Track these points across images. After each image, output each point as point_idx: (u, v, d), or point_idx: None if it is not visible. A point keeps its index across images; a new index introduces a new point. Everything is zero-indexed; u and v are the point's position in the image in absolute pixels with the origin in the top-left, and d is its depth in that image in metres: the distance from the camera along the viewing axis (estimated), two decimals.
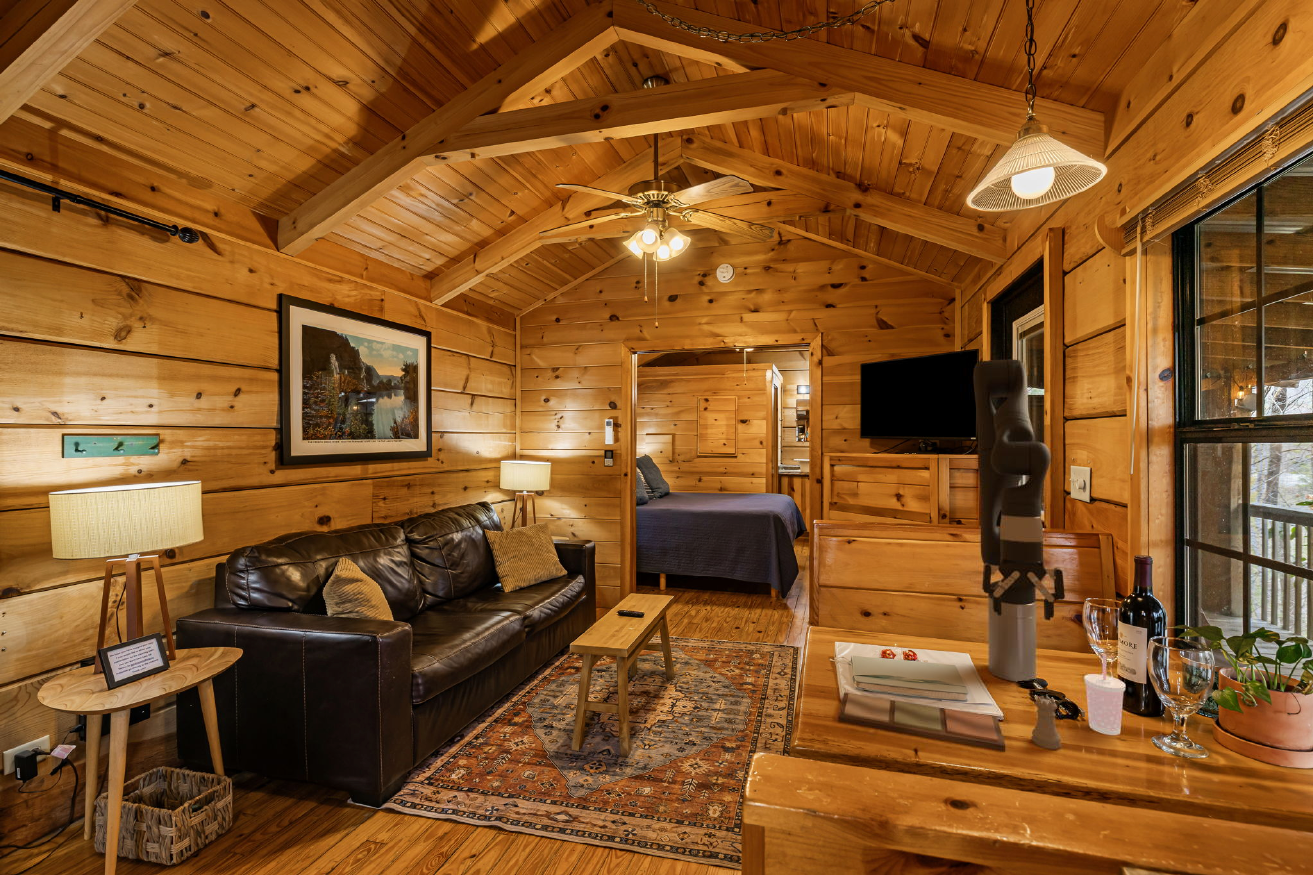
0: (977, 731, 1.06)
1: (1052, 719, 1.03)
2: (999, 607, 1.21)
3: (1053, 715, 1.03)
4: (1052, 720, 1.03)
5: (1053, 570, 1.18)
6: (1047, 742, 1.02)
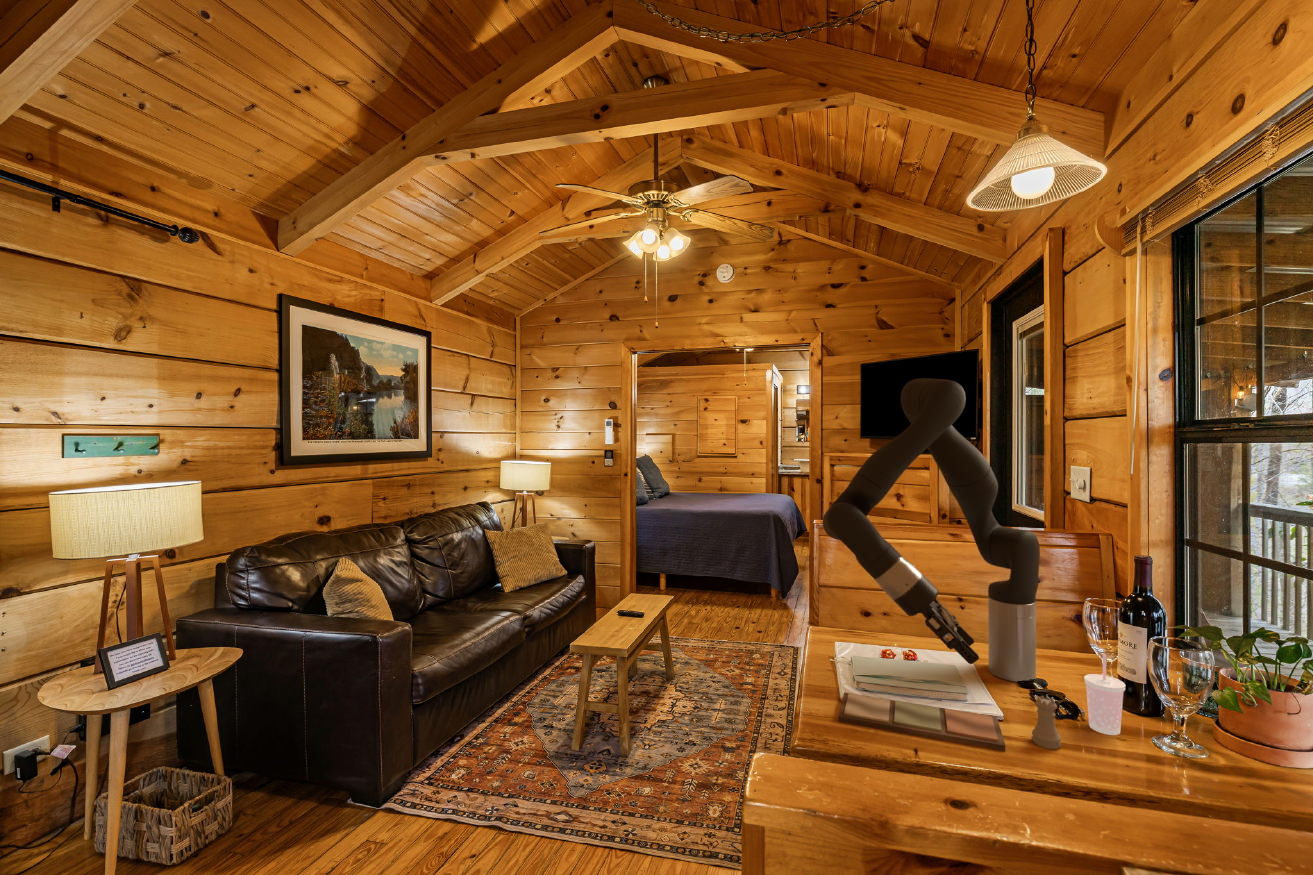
0: (977, 731, 1.06)
1: (1052, 719, 1.03)
2: None
3: (1053, 715, 1.03)
4: (1052, 720, 1.03)
5: None
6: (1047, 742, 1.02)
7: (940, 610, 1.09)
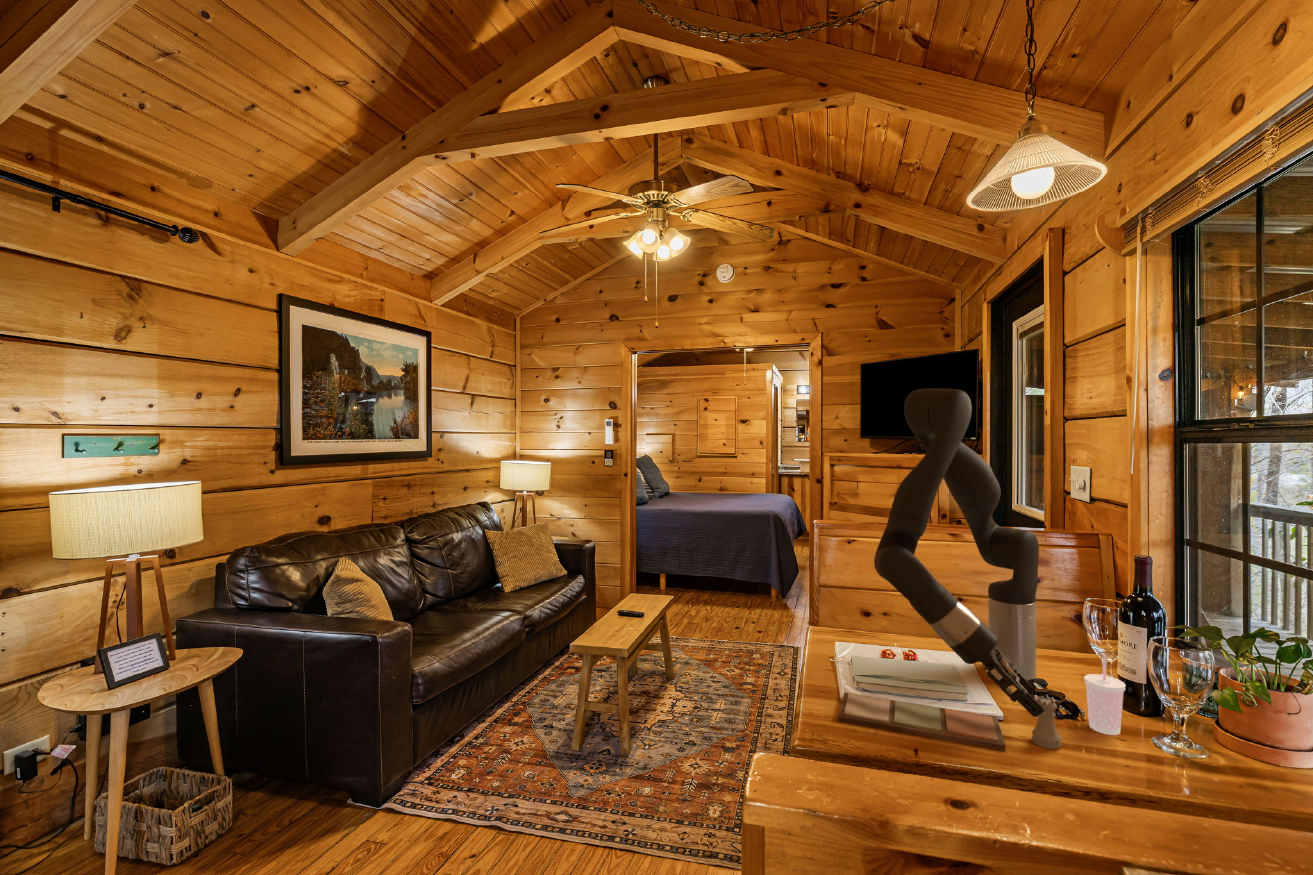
0: (977, 731, 1.06)
1: (1052, 719, 1.03)
2: None
3: (1053, 715, 1.03)
4: (1052, 720, 1.03)
5: (991, 670, 1.02)
6: (1047, 742, 1.02)
7: (1000, 659, 1.05)
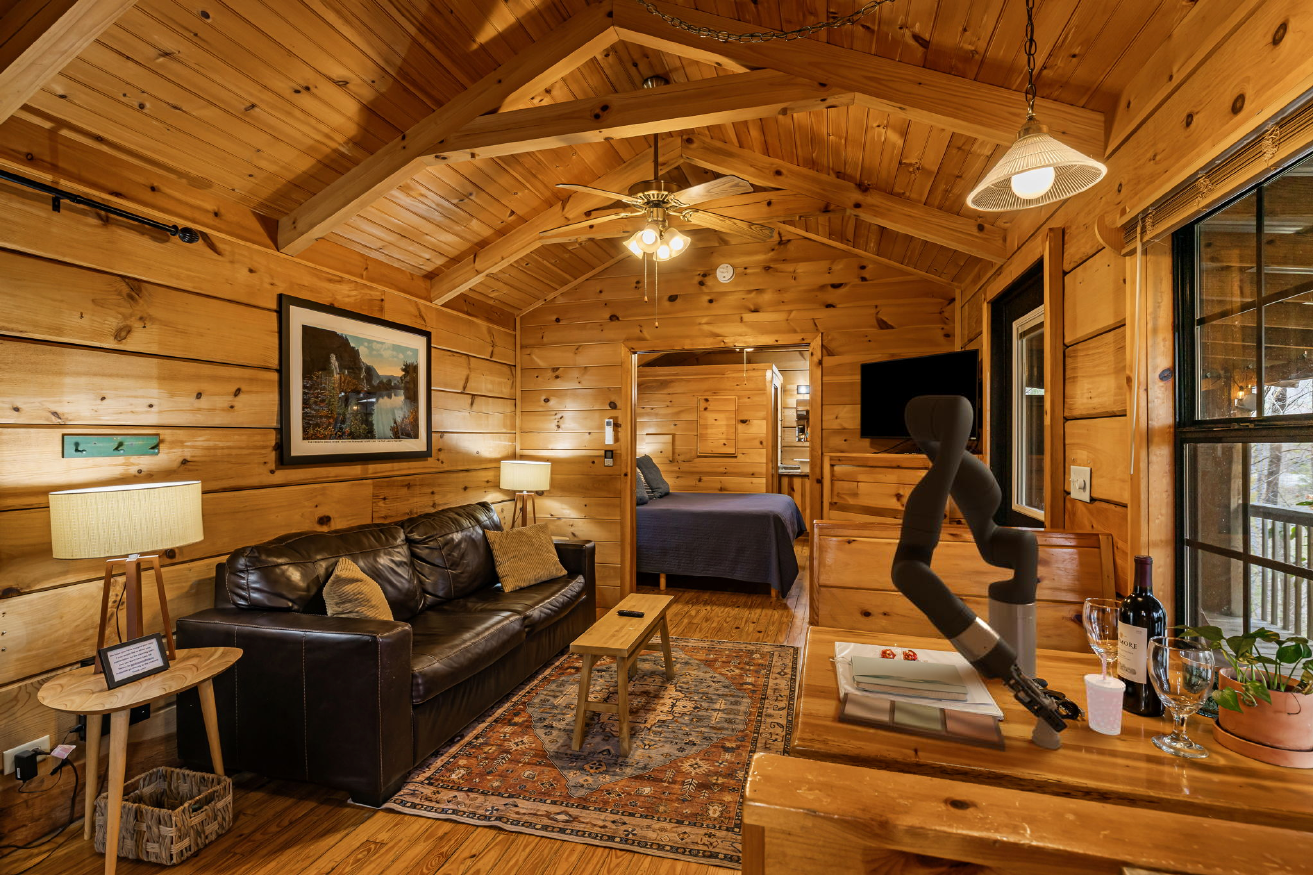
0: (977, 731, 1.06)
1: None
2: None
3: None
4: None
5: (1016, 691, 1.01)
6: (1047, 742, 1.02)
7: (1021, 676, 1.04)
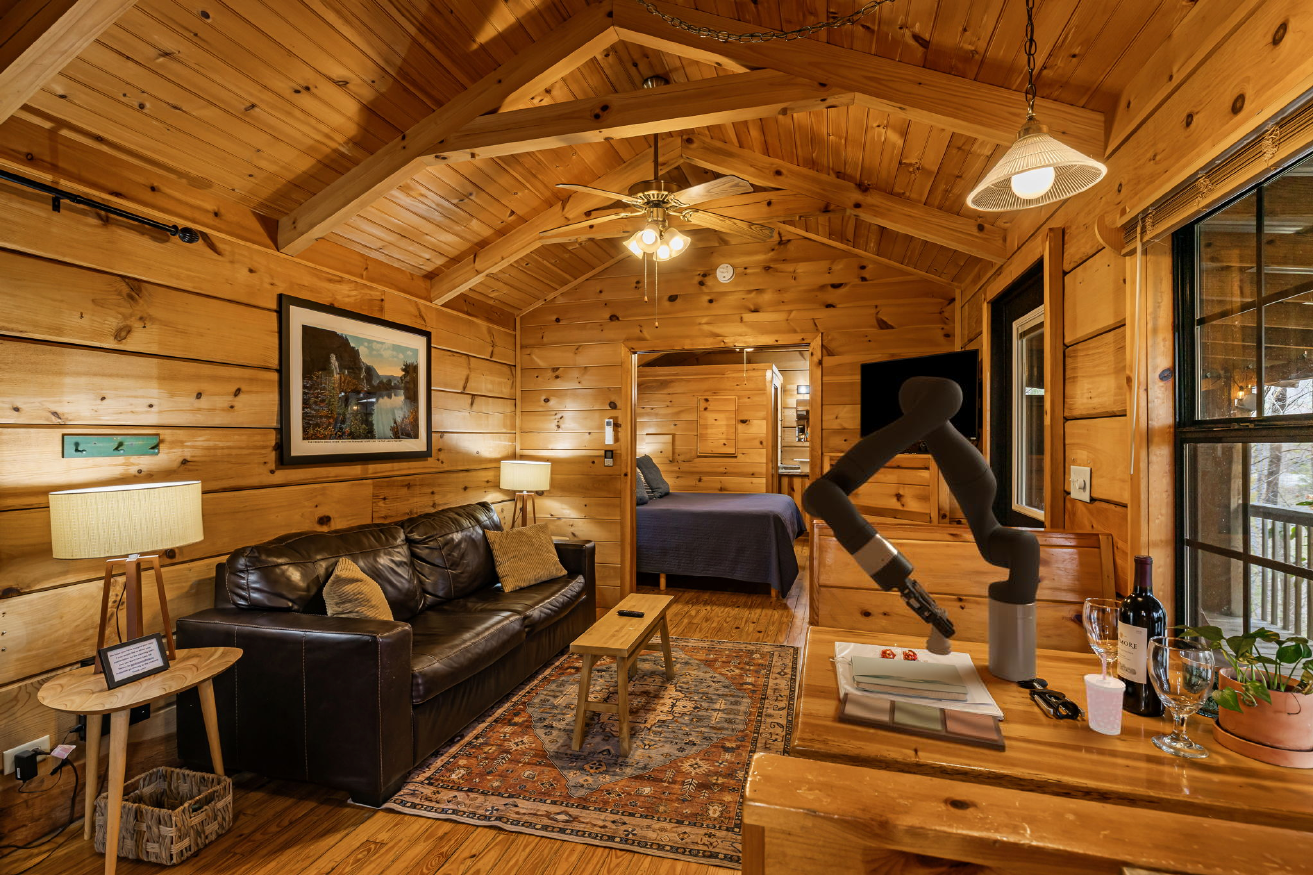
0: (977, 731, 1.06)
1: None
2: None
3: None
4: None
5: (909, 599, 1.07)
6: (938, 648, 1.08)
7: (916, 587, 1.10)
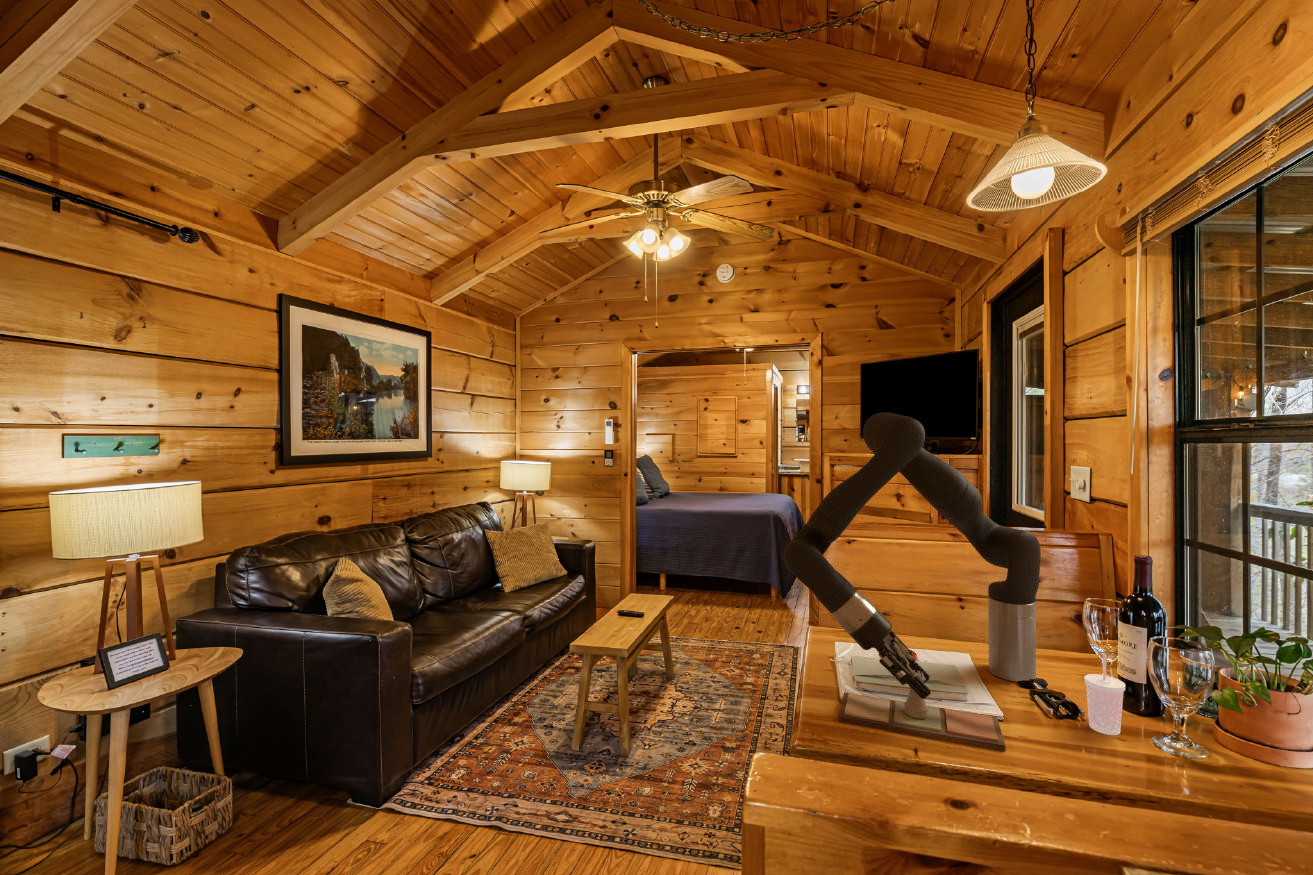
0: (977, 731, 1.06)
1: None
2: None
3: None
4: None
5: None
6: (915, 712, 1.11)
7: (893, 645, 1.12)
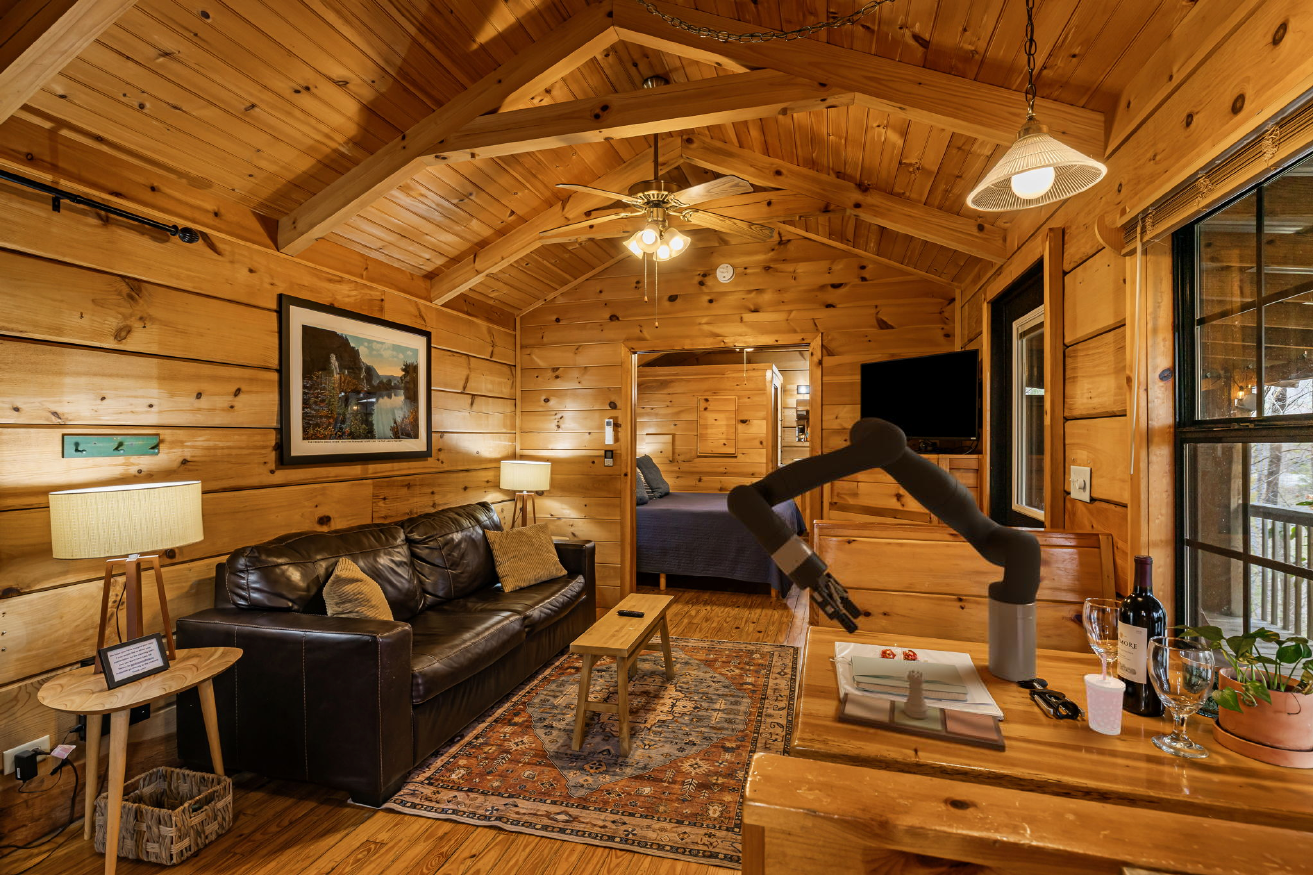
0: (977, 731, 1.06)
1: (920, 691, 1.11)
2: None
3: (921, 687, 1.11)
4: (920, 692, 1.11)
5: None
6: (915, 712, 1.11)
7: (827, 584, 1.17)
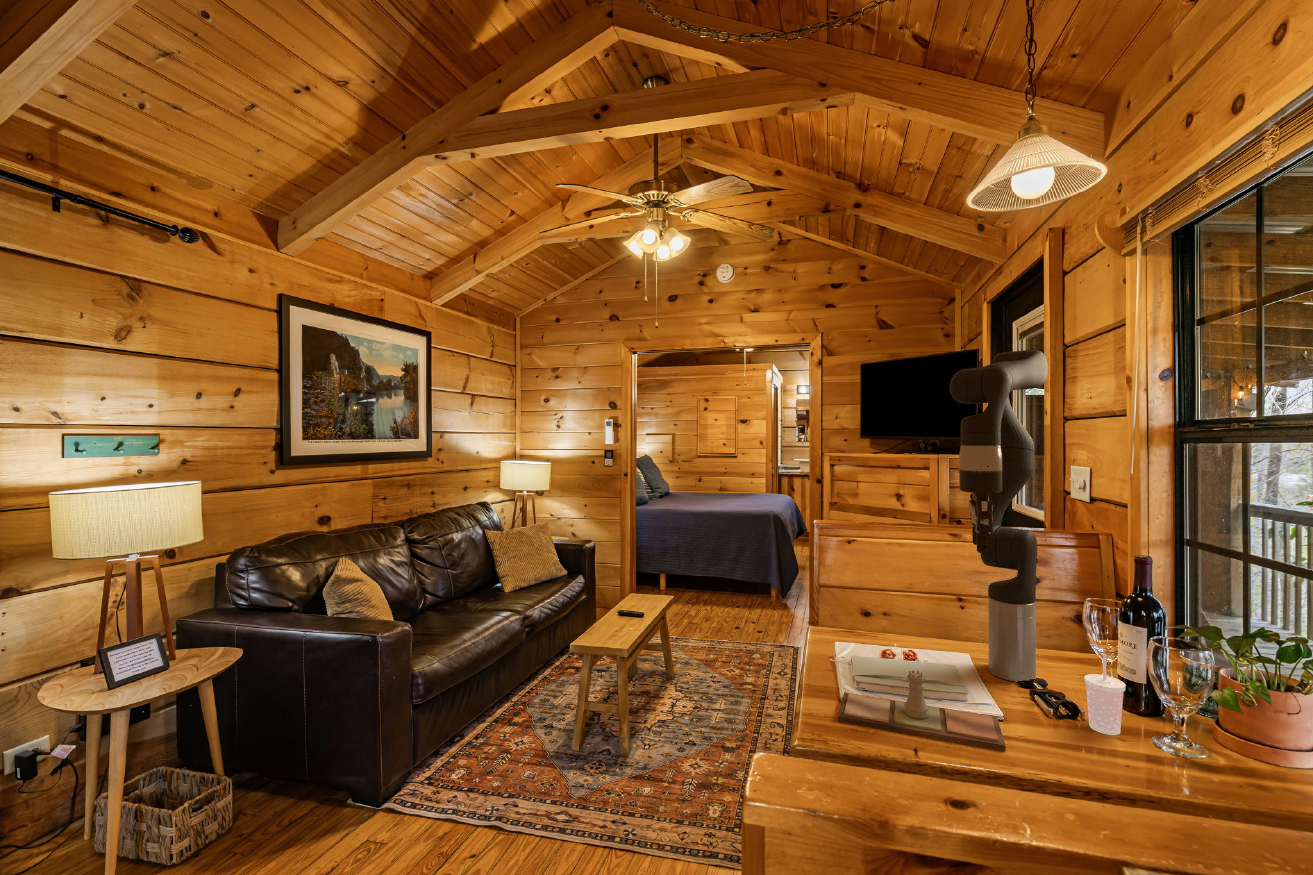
0: (977, 731, 1.06)
1: (920, 691, 1.11)
2: (972, 536, 1.21)
3: (921, 687, 1.11)
4: (920, 692, 1.11)
5: None
6: (915, 712, 1.11)
7: None
